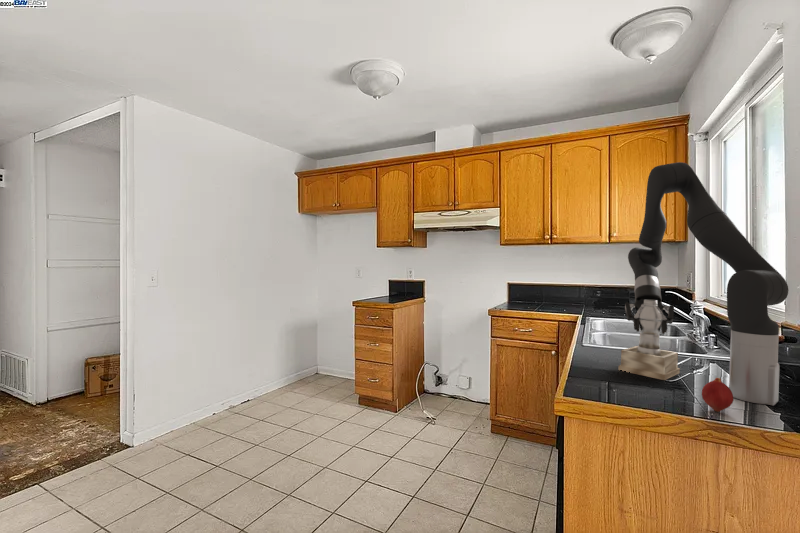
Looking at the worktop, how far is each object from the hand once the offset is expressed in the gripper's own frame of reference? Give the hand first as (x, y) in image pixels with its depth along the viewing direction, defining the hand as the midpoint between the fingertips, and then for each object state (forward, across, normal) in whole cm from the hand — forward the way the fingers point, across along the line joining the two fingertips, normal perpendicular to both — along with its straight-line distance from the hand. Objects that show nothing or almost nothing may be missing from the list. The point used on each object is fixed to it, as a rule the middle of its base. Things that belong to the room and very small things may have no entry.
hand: (650, 331), depth 125 cm
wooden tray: (+8, 0, +10) cm, 13 cm away
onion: (+31, +10, -12) cm, 35 cm away
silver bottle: (+6, 0, +9) cm, 11 cm away
